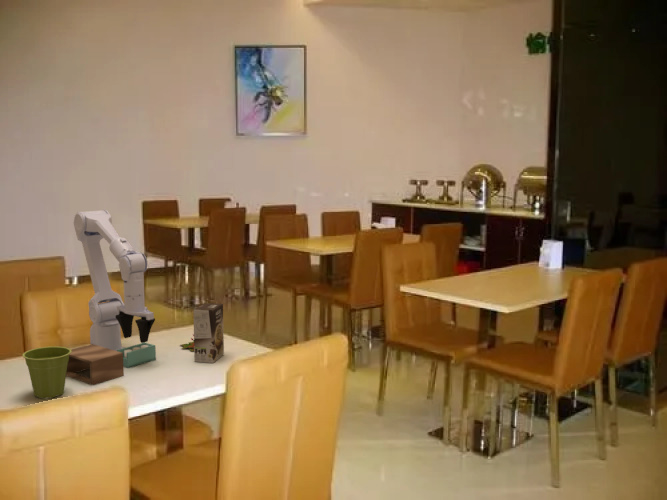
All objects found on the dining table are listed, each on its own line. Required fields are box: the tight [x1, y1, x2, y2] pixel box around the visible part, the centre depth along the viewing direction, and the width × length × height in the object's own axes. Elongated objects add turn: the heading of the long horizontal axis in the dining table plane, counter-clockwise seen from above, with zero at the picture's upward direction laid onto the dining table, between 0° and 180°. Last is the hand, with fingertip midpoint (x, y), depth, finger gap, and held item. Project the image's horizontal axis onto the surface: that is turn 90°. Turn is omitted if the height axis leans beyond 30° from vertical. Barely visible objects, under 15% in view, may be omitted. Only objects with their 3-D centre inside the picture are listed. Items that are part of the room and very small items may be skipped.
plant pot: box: [22, 346, 72, 399], centre depth 191 cm, size 12×12×11 cm
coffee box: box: [193, 302, 225, 364], centre depth 222 cm, size 9×6×16 cm
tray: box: [117, 342, 157, 369], centre depth 219 cm, size 5×10×4 cm, turn 143°
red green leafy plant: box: [181, 334, 194, 352], centre depth 235 cm, size 12×12×5 cm
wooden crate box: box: [66, 343, 125, 386], centre depth 207 cm, size 14×10×7 cm
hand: (135, 339), depth 218 cm, fingers open, 7 cm apart
